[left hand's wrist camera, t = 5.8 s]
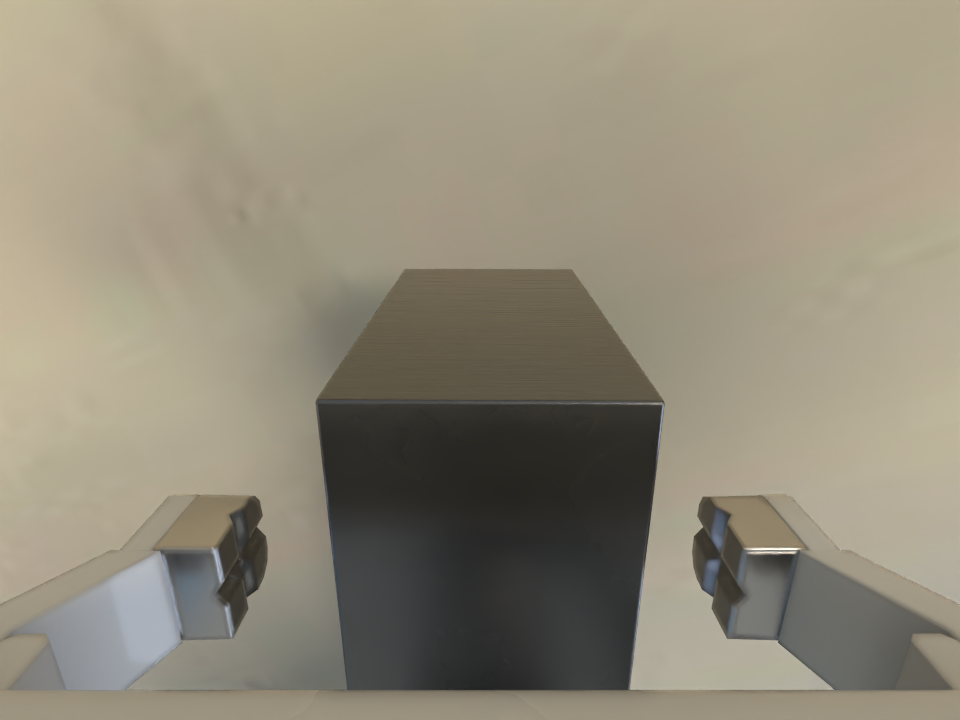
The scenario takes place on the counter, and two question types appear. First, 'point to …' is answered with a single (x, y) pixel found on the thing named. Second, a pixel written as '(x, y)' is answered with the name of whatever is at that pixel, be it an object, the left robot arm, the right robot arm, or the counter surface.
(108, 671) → the left robot arm
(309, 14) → the counter surface
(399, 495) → the bar
